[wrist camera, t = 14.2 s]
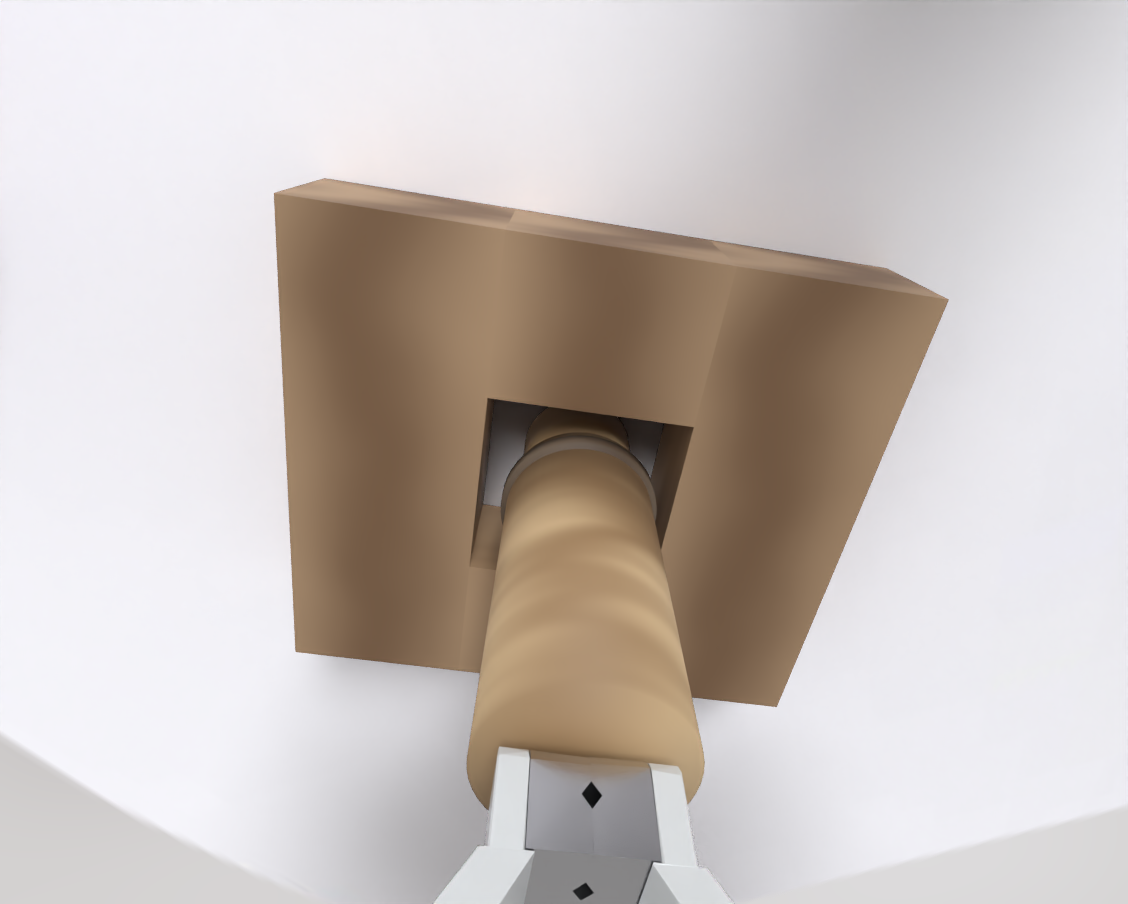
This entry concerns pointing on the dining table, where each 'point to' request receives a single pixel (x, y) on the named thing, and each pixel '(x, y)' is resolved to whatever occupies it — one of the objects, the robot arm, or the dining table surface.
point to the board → (583, 383)
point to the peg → (582, 612)
